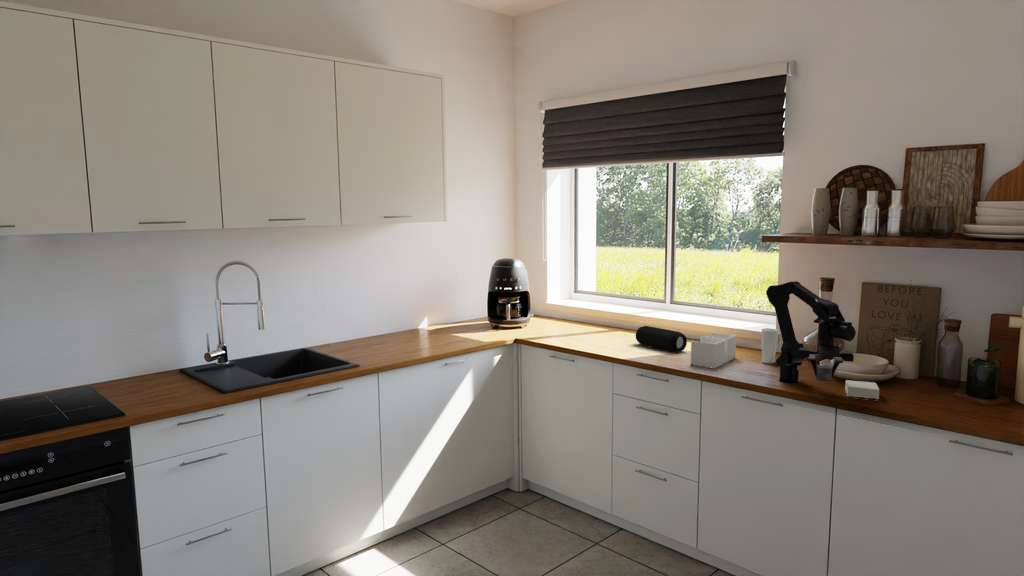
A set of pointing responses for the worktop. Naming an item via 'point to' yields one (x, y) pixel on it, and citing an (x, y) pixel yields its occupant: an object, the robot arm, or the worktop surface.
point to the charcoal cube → (824, 373)
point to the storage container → (713, 350)
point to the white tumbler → (769, 345)
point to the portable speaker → (661, 338)
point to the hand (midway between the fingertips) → (823, 376)
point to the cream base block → (862, 389)
